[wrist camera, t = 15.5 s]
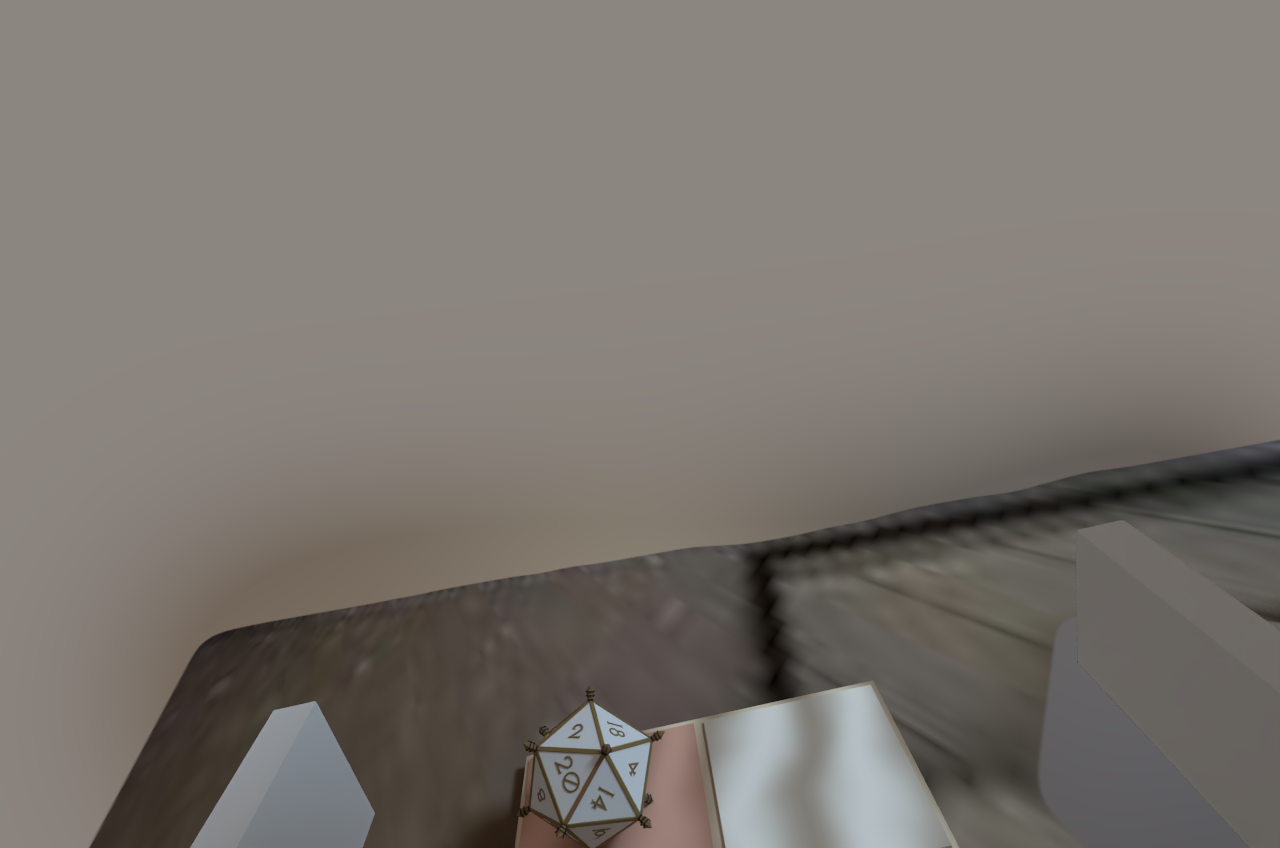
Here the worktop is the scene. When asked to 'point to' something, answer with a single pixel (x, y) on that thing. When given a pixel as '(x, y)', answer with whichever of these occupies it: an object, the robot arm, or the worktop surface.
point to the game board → (778, 781)
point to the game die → (590, 775)
